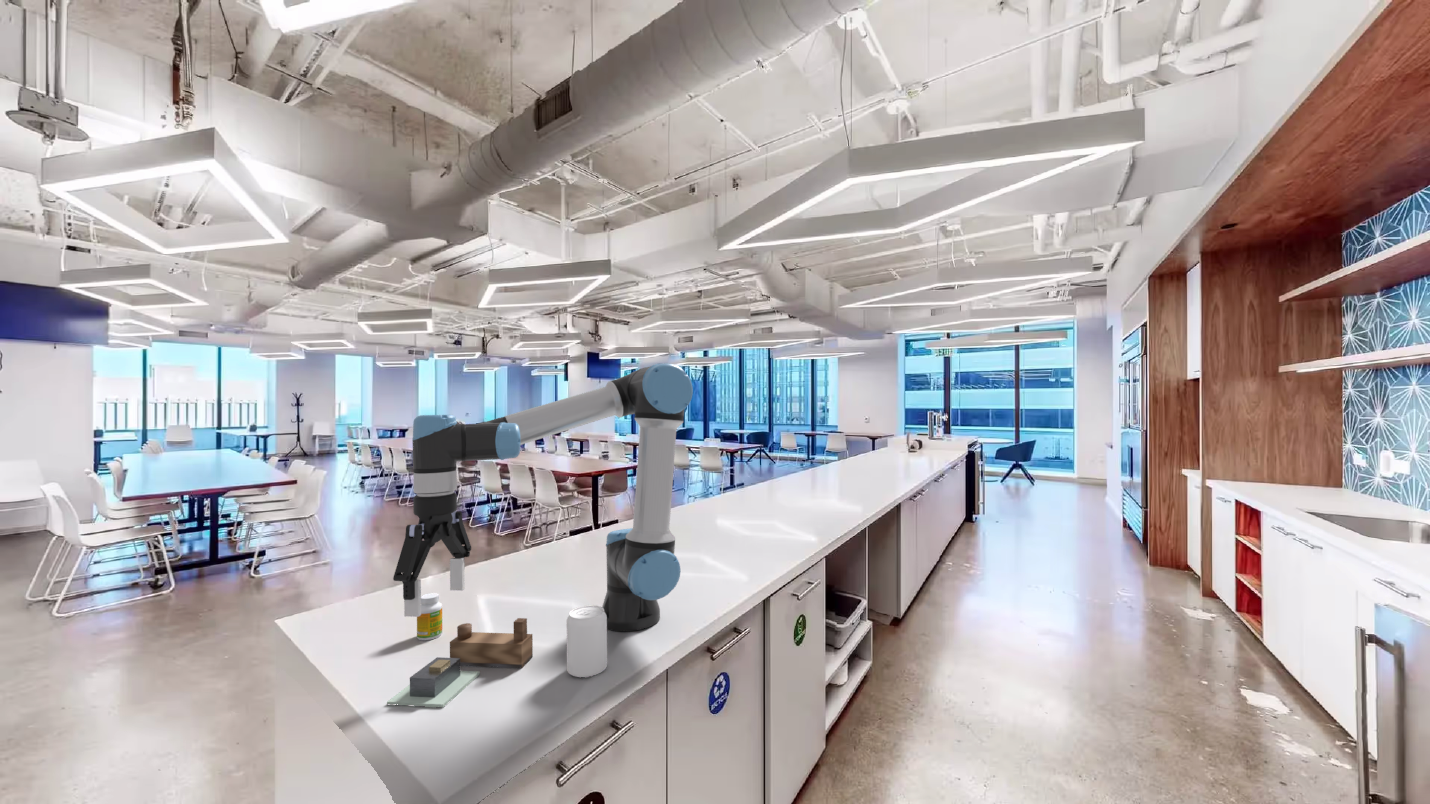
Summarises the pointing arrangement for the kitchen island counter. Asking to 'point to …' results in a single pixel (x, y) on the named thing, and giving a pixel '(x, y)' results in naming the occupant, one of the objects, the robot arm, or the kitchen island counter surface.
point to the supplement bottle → (429, 617)
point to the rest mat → (441, 698)
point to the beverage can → (586, 641)
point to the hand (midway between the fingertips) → (436, 602)
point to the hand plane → (493, 647)
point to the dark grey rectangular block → (434, 677)
